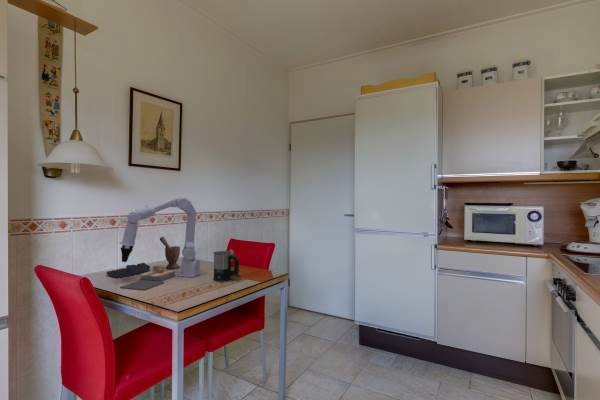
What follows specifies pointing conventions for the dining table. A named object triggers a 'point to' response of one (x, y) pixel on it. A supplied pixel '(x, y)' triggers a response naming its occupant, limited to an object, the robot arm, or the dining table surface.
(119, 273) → the dark slate chunk
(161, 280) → the dish
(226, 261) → the milk frother
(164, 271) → the lid
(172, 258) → the mortar and pestle
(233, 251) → the food container
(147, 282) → the mat
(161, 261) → the dining table surface
